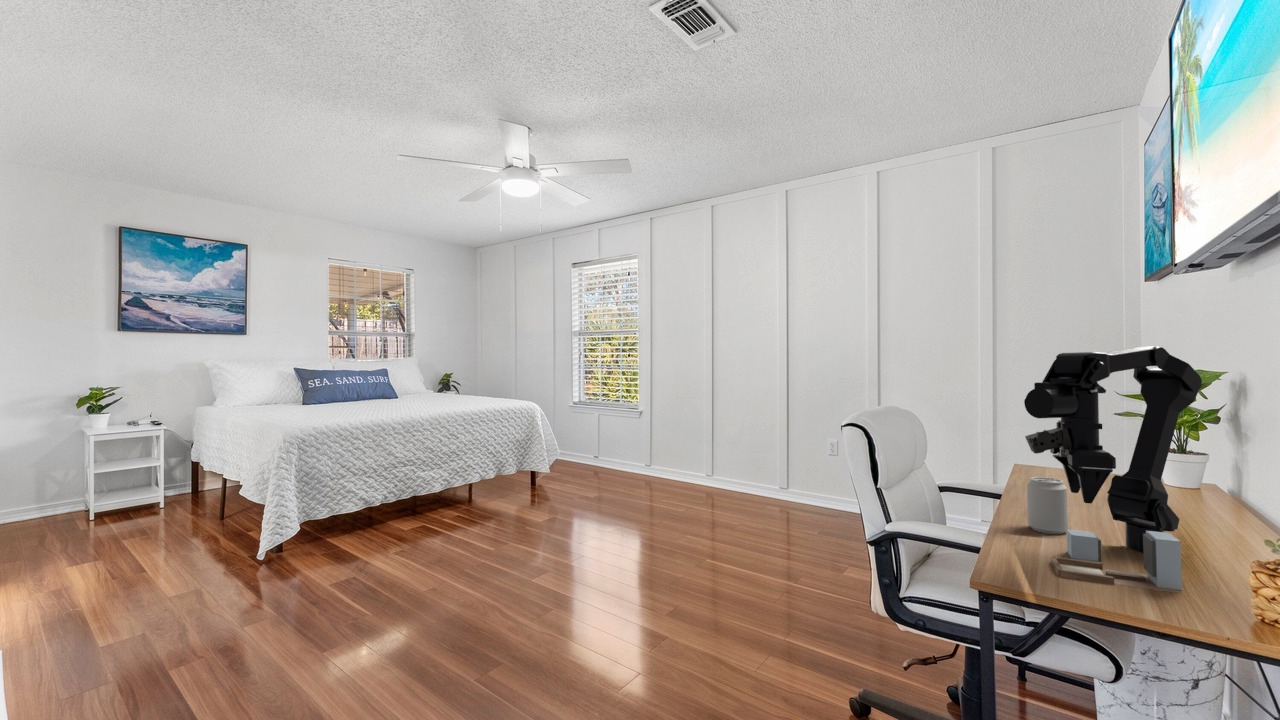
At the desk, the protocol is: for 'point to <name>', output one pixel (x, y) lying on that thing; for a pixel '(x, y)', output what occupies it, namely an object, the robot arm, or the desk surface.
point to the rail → (1102, 574)
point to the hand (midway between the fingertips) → (1080, 497)
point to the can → (1047, 505)
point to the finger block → (1083, 545)
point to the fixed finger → (1162, 559)
